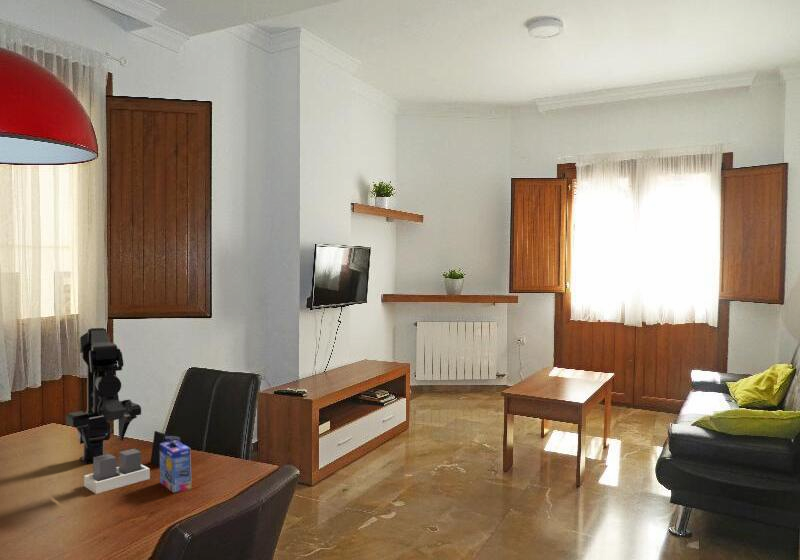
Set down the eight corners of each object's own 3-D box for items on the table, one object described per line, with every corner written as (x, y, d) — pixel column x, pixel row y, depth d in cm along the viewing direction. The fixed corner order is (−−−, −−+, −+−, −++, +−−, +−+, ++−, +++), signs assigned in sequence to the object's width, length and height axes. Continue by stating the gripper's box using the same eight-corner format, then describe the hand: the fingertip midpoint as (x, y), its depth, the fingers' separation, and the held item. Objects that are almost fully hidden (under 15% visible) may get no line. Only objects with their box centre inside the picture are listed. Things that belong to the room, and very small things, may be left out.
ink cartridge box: (158, 484, 171) (158, 435, 170) (176, 479, 175) (177, 431, 174) (172, 494, 164) (173, 443, 163) (191, 489, 168) (192, 439, 167)
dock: (84, 487, 167) (84, 475, 167) (137, 473, 179) (137, 462, 179) (96, 495, 162) (96, 482, 162) (149, 480, 174) (149, 468, 174)
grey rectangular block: (93, 485, 168) (93, 457, 167) (109, 480, 171) (109, 453, 171) (100, 489, 165) (100, 461, 164) (116, 484, 168) (116, 457, 168)
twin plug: (119, 478, 173) (119, 452, 173) (133, 474, 176) (133, 448, 176) (125, 482, 170) (125, 455, 170) (140, 478, 174) (140, 451, 173)
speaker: (154, 468, 183) (157, 434, 183) (150, 464, 187) (153, 431, 188) (179, 466, 187) (182, 433, 187) (174, 462, 192) (177, 429, 192)
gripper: (81, 400, 154) (81, 458, 155) (150, 388, 169) (150, 442, 169) (64, 393, 162) (64, 449, 162) (132, 383, 176) (132, 434, 176)
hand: (104, 444), depth 167 cm, fingers open, 9 cm apart
